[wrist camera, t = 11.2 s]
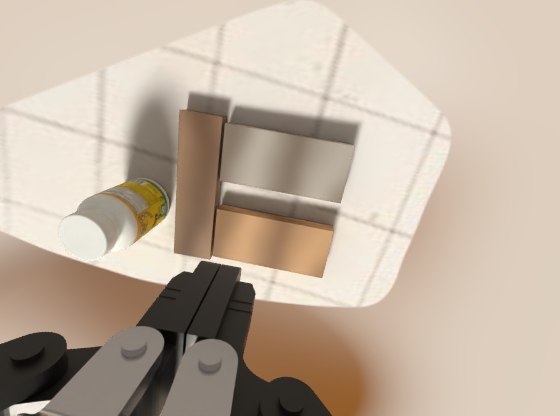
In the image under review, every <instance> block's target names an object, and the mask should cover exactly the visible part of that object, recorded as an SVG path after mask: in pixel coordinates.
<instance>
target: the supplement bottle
mask: <svg viewBox="0 0 560 416" xmlns="http://www.w3.org/2000/svg"><path fill="white" fill-rule="evenodd" d="M168 212H169V198H168V196H167V193H166V191H165V190H164V189H163V188H162V187H161V186H160V185H159V184H158V183H156V182H155V181H153V180H150V179H147V178H136V179H133V180H130V181H127V182H125V183H122V184H120V185H118V186H115V187H113V188H110V189H108V190H105V191H103V192H100V193H98V194H95V195H93V196H91V197H89V198H87V199H85V200H84V201H83V202H82V203H81V204H80V205H79V207H78V209H77V211H76V212H75V213H73V214H71V215H69V216H67V217H65V218H64V219H63V220H62V221H61V223H60V224H59V228H58V235H59V239H60V242H61V243H62V245H63V247H64V248H65V249H66V250H67V251H68V252H69V253H70V254H71V255H73V256H74V257H76V258H78V259H81V260H85V261H94V260H97V259H99V258H101V257H103V256H104V255H106V254H107V253H109V252H112V253H113V252H119V251H122V250H124V249H126V248H128V247H129V246H131V245H132V244H133V243H135V242H136V241H137V240H138V239H140V238H141V237H142V236H143V235H145V234H146V233H147V232H149V231H150V230H151V229H152V228H154V227H155V226H156V225H158V224H159V223H160V222H161V221H163V220H164V219H165V217H166V216H167V214H168Z"/></svg>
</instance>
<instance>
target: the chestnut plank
mask: <svg viewBox="0 0 560 416" xmlns="http://www.w3.org/2000/svg"><path fill="white" fill-rule="evenodd" d="M333 232H334V230H333V226H331V225H326V224H321V223H315V222H310V221H305V220H300V219H295V218H289V217H284V216H279V215H274V214H268V213H263V212H258V211H253V210H248V209H242V208H237V207H232V206H227V205H221V206H220V207H219V208H218V209H217V216H216V226H215V237H214V248H213V256H215V257H220V258H225V259H230V260H235V261H240V262H245V263H250V264H255V265H259V266H264V267H269V268H274V269H279V270H284V271H289V272H294V273H299V274H304V275H309V276H314V277H319V278H322V277H323V273H324V269H325V265H326V261H327V257H328V253H329V249H330V244H331V240H332V236H333Z"/></svg>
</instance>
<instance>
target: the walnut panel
mask: <svg viewBox="0 0 560 416" xmlns="http://www.w3.org/2000/svg"><path fill="white" fill-rule="evenodd" d="M226 121H227V117H226V116H220V115H214V114H209V113H203V112H197V111H191V110H180V114H179V139H178V164H177V190H176V215H175V240H174V253H177V254H183V255H188V256H193V257H199V258H204V259H209V260H210V258H211V257H212V255H213V248H214V237H215V226H216V216H217V209H218V207H219V196H220V185H221V181H220V172H221V161H222V151H223V140H224V129H225V123H226Z"/></svg>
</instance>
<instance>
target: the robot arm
mask: <svg viewBox="0 0 560 416" xmlns="http://www.w3.org/2000/svg"><path fill="white" fill-rule="evenodd" d="M240 276H241V268H239V267H234V266H228V265H223V264H222V265H221V264H217V263H212V262H206V261H201V262H200V263H199V265H198V266H197V268H196V269H195V271H194V272H193V273H190V272H185V271H184V272H182V273H180V274H179V275H177V276H175V277H173V278H172V279H171V281H170V282H169V283H168V284H167V286H166V287H165V289H164V290H163V291H162V292H161V294H160V295H159V297H158V298H157V299H156V300H155V302H154V303H153V304H152V306H151V307H150V308H149V309H148V311H147V312H146V313H145V315H144V316H143V317H142V319H141V320H140V321H139V323H138V324H137V325H136V327H131V328H127V329H125V330H122V331H120V332H118V333H116V334H115V335H114V336H112V337H111V338H110V339H109V340H108V341H107V342H106V343H105V344H104V345H103V346H99V347H91V348H80V349H67V343H66V340H65V339H64V337H63V336H61V335H59V334H57V333H53V332H39V333H33V334H28V335H25V336H22V337H19V338H16V339H14V340H11V341H8V342H5V343H2V344H0V416H160V414H161V416H332V415H331V414H330V412H329V411H328V410H327V408H326V407H325V406H324V405H323V403H322V402H321V401H320V399H319V398H318V397H317V395H316V394H315V393H314V391H313V390H312V389H311V388H310V387H309V386H308V385H307V384H305V383H304V382H302V381H300V380H298V379H295V378H292V377H281V378H277V379H274V380H273V381H271V382H267V381H265V380H263V379H261V378H259V377H258V376H256V375H255V374H253V373H252V372H251V371H250V370H249V369H248V367H247V366H246V364H245V362H244V360H243V354H244V350H245V346H246V341H247V336H248V332H249V328H250V322H251V316H252V310H253V305H254V299H255V291H254V288H253V285H252V284H250V283H245V282H240ZM163 407H164V408H163ZM161 412H162V413H161Z"/></svg>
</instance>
